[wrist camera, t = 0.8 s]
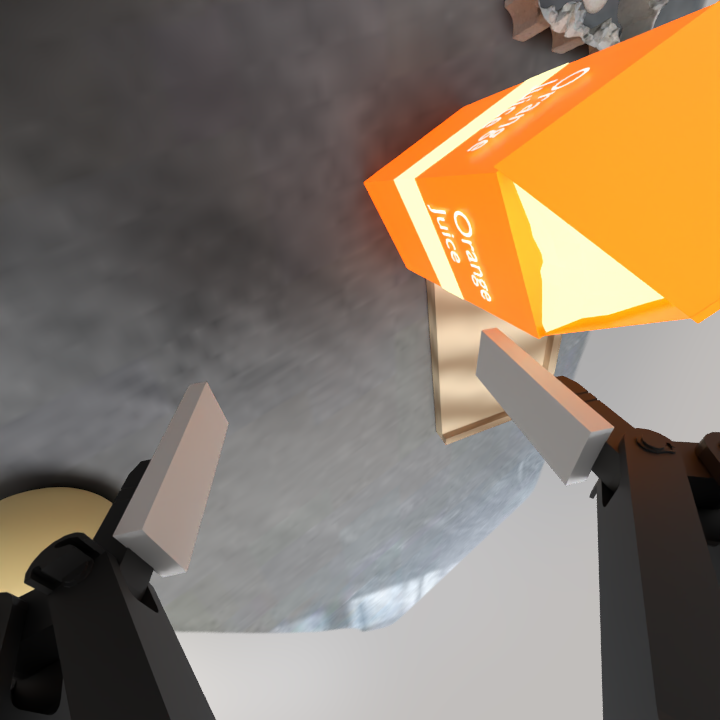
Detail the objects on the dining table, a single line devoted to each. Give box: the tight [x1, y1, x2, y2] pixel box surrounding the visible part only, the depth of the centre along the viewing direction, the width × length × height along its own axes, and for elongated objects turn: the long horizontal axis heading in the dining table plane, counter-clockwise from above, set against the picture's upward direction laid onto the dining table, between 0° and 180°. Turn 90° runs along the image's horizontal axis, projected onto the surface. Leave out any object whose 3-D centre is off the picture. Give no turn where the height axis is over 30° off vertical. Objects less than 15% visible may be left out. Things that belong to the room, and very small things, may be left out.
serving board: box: [426, 279, 562, 445], centre depth 32 cm, size 20×14×2 cm
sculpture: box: [0, 487, 112, 597], centre depth 23 cm, size 11×12×11 cm
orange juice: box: [363, 1, 720, 339], centre depth 15 cm, size 8×9×20 cm
